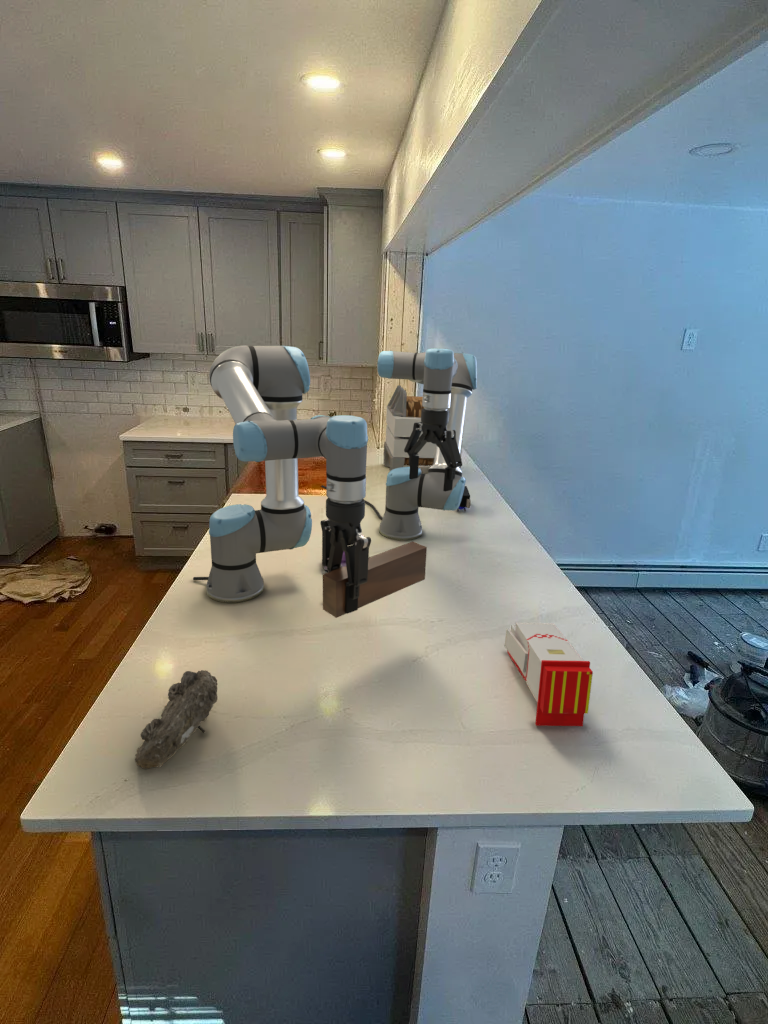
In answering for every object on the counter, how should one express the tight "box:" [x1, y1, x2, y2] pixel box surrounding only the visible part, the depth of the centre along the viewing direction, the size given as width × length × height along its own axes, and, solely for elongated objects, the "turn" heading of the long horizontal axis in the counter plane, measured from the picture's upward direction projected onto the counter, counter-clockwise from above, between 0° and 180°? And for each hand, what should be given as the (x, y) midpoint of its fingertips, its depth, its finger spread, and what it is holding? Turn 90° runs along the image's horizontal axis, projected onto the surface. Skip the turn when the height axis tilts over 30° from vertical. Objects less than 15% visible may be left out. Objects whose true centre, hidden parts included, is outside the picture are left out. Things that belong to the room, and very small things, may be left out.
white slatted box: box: [383, 384, 465, 472], centre depth 268 cm, size 34×33×41 cm
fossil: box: [134, 669, 218, 770], centre depth 103 cm, size 22×10×15 cm
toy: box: [503, 622, 594, 727], centre depth 121 cm, size 12×13×30 cm
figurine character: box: [456, 485, 472, 513], centre depth 228 cm, size 7×8×15 cm
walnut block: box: [322, 541, 428, 619], centre depth 121 cm, size 4×26×8 cm, turn 134°
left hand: (343, 605), depth 116 cm, fingers closed on walnut block, 4 cm apart
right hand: (430, 484), depth 159 cm, fingers open, 13 cm apart
